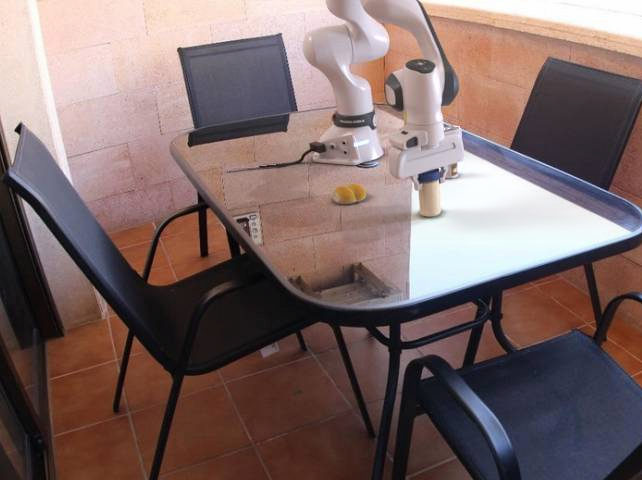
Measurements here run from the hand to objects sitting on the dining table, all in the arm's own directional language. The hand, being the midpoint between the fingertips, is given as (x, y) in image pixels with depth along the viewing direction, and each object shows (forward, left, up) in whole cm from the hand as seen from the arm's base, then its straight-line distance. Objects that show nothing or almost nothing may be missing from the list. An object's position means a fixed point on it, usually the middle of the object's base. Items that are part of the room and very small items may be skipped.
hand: (429, 186), depth 166 cm
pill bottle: (0, +27, -8) cm, 28 cm away
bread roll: (-25, +9, -8) cm, 28 cm away
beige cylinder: (0, 0, -7) cm, 7 cm away
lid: (0, 0, +4) cm, 4 cm away
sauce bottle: (-20, +68, -8) cm, 71 cm away
